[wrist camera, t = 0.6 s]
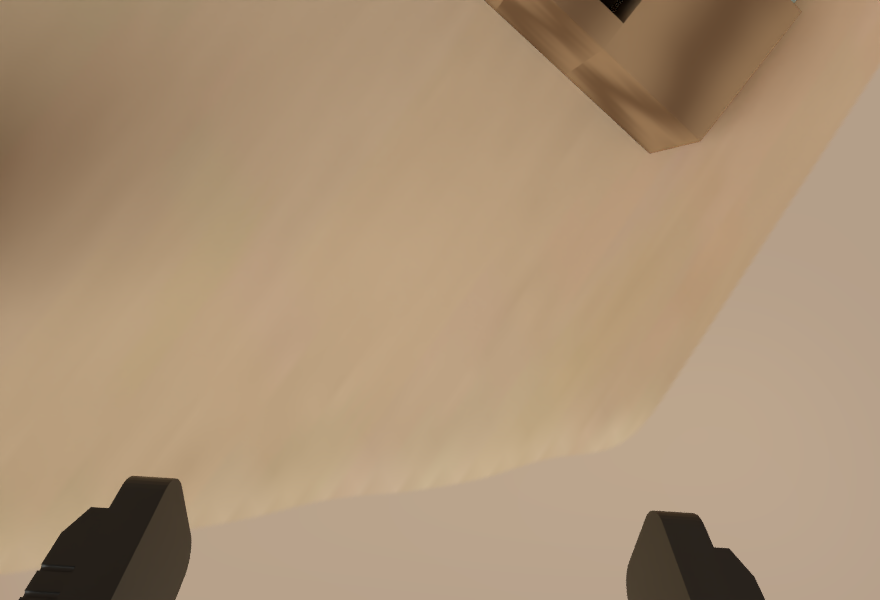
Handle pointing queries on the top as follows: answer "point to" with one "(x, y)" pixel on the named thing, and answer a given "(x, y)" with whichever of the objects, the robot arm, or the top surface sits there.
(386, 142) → the top surface
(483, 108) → the top surface
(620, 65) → the wooden block with hole
